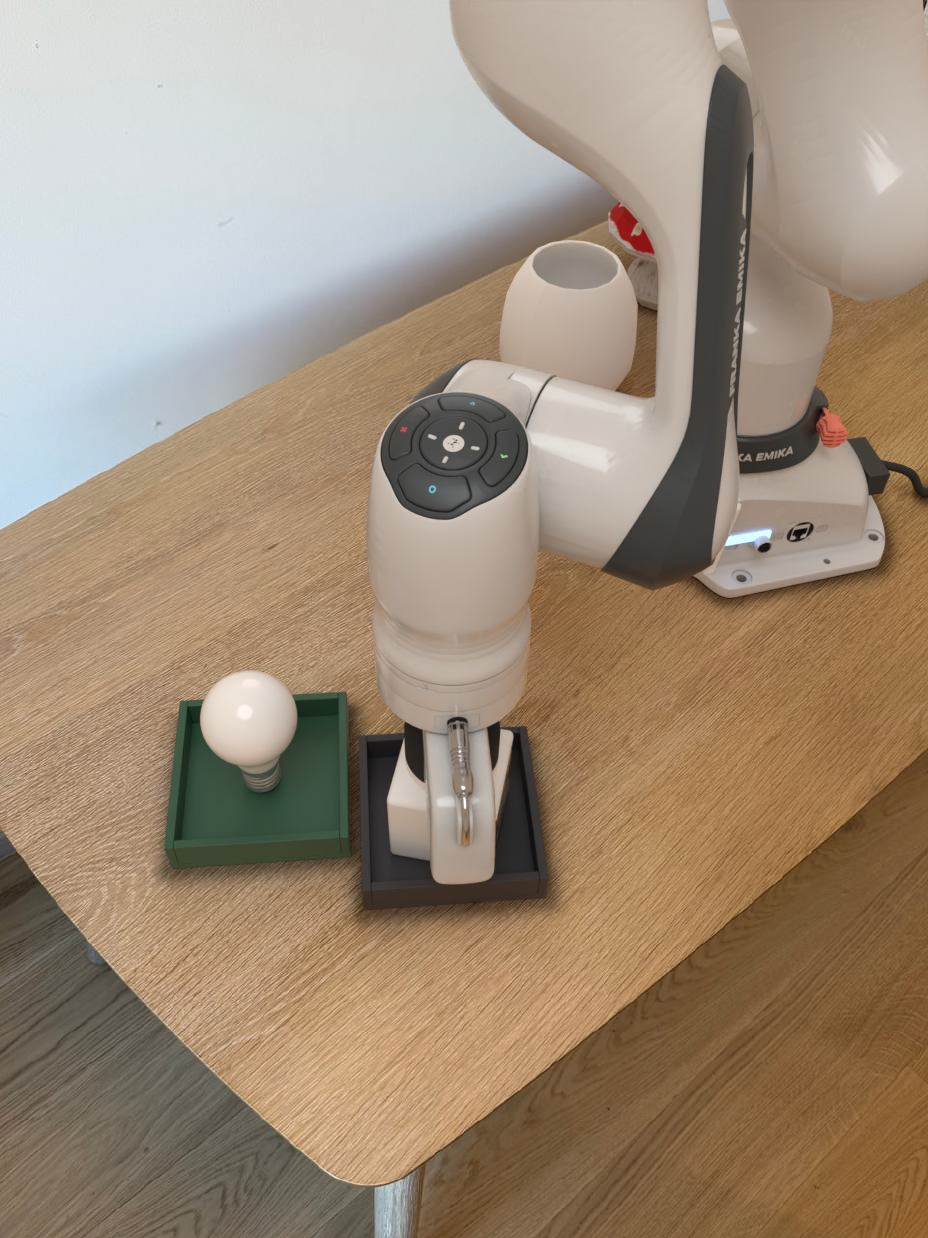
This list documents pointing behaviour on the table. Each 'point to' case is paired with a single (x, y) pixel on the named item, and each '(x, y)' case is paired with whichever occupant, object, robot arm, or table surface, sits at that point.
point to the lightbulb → (250, 725)
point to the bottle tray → (411, 878)
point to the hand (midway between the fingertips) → (450, 784)
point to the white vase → (571, 315)
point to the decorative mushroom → (638, 244)
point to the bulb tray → (263, 794)
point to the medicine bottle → (411, 800)
